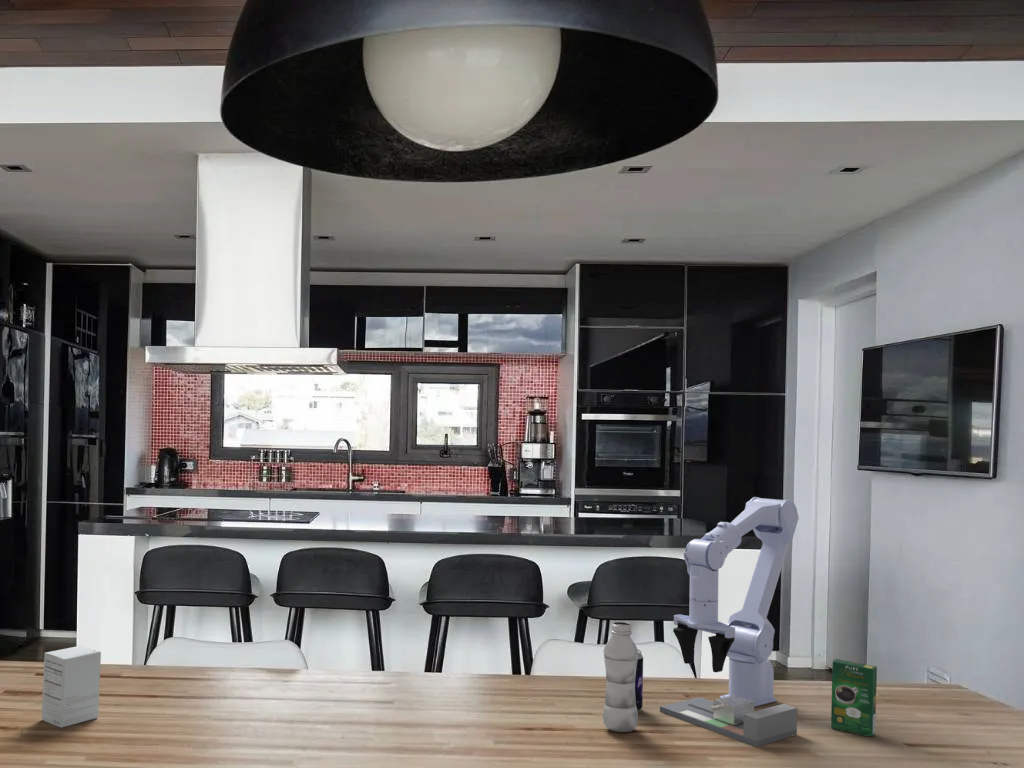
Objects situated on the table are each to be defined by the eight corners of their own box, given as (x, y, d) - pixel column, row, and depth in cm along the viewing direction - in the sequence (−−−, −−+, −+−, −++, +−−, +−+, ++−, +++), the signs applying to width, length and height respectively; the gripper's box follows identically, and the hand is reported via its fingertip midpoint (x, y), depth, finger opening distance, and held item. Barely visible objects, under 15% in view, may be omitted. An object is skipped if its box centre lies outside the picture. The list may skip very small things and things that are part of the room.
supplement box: (78, 710, 171) (81, 644, 172) (99, 718, 167) (102, 650, 167) (39, 720, 165) (43, 651, 166) (60, 728, 161) (63, 658, 161)
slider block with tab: (733, 712, 175) (733, 695, 176) (754, 719, 171) (754, 701, 172) (701, 721, 170) (701, 702, 170) (721, 728, 166) (722, 709, 166)
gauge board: (699, 701, 186) (699, 677, 187) (796, 734, 167) (796, 707, 167) (659, 711, 179) (660, 686, 179) (756, 746, 160) (756, 718, 160)
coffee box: (877, 734, 168) (877, 664, 169) (874, 738, 166) (874, 667, 167) (834, 725, 173) (834, 657, 174) (830, 729, 171) (830, 660, 172)
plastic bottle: (633, 738, 163) (635, 628, 164) (598, 733, 165) (600, 625, 166) (641, 727, 169) (642, 622, 170) (606, 723, 171) (608, 618, 172)
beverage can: (641, 715, 176) (642, 655, 177) (613, 713, 177) (614, 652, 178) (643, 707, 182) (644, 648, 182) (615, 705, 183) (616, 646, 183)
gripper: (663, 595, 183) (662, 661, 182) (718, 607, 171) (718, 678, 170) (687, 592, 187) (686, 657, 186) (742, 603, 175) (741, 673, 174)
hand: (702, 667), depth 178 cm, fingers open, 7 cm apart
